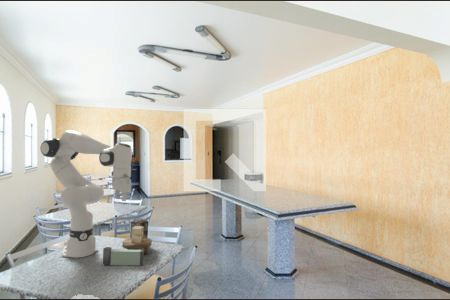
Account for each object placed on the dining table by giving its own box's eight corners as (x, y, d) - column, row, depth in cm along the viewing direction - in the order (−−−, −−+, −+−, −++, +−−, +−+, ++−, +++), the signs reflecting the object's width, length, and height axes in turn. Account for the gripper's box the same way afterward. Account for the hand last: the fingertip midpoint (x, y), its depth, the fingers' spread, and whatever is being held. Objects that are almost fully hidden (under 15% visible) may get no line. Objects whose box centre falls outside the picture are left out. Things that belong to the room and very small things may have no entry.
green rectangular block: (101, 265, 144) (102, 249, 144) (104, 262, 148) (105, 247, 148) (141, 265, 145) (142, 250, 145) (143, 262, 149) (144, 247, 149)
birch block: (134, 239, 163) (135, 226, 163) (142, 240, 163) (143, 226, 163) (131, 242, 158) (132, 228, 158) (140, 243, 158) (140, 228, 158)
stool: (118, 253, 162) (119, 239, 162) (145, 249, 171) (145, 235, 172) (127, 262, 149) (127, 247, 149) (155, 257, 159) (156, 243, 159)
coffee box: (141, 244, 181) (142, 219, 181) (147, 246, 177) (148, 220, 177) (129, 247, 173) (130, 221, 173) (135, 249, 169) (136, 223, 170)
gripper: (135, 175, 143) (133, 202, 142) (121, 172, 159) (120, 196, 158) (122, 175, 139) (121, 203, 138) (110, 172, 155) (109, 197, 154)
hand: (120, 199), depth 148 cm, fingers open, 8 cm apart
